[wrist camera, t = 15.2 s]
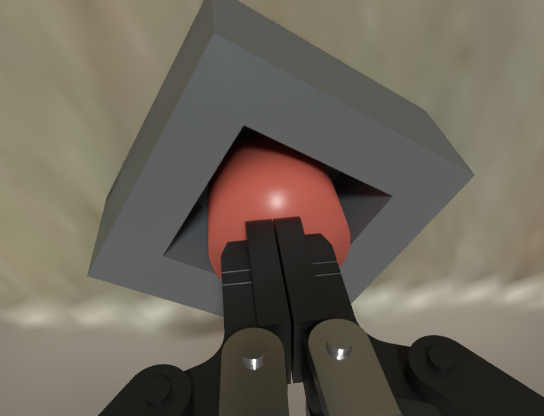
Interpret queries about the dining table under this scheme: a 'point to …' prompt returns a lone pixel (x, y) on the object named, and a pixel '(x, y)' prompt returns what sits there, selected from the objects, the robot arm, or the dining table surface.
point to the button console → (283, 128)
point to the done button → (272, 195)
